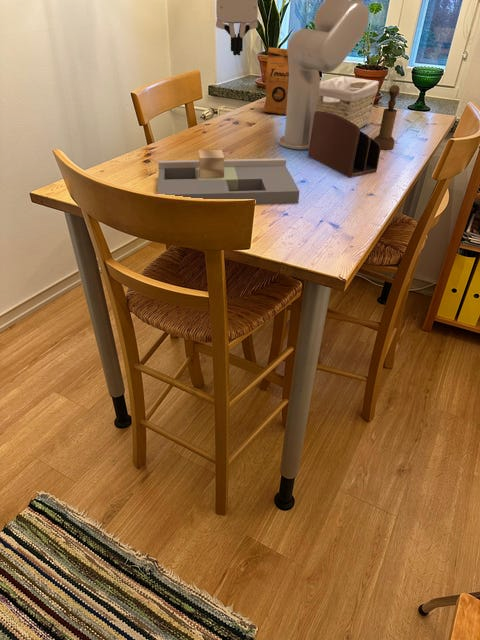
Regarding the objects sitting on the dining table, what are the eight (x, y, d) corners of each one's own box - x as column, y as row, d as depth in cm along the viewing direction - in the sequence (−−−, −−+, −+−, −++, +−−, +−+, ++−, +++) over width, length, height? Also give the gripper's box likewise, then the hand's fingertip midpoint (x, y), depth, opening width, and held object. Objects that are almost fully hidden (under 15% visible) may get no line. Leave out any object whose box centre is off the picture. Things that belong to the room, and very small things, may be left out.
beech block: (222, 168, 122) (221, 149, 119) (224, 177, 118) (224, 157, 115) (199, 169, 122) (198, 150, 119) (200, 177, 117) (199, 158, 114)
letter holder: (349, 178, 127) (358, 125, 119) (307, 156, 141) (312, 107, 132) (376, 172, 131) (387, 120, 123) (333, 152, 145) (340, 103, 136)
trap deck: (283, 174, 128) (284, 158, 125) (298, 202, 113) (300, 185, 111) (159, 177, 125) (158, 160, 122) (158, 207, 110) (156, 188, 107)
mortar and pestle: (395, 145, 151) (408, 84, 140) (391, 151, 146) (404, 88, 135) (374, 142, 153) (386, 82, 142) (370, 147, 148) (382, 86, 137)
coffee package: (292, 117, 175) (297, 51, 162) (260, 114, 178) (263, 48, 165) (298, 111, 183) (303, 47, 169) (267, 108, 186) (271, 45, 172)
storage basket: (333, 117, 177) (339, 74, 168) (373, 124, 170) (381, 80, 161) (303, 131, 162) (308, 85, 153) (346, 140, 155) (354, 92, 146)
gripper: (266, -33, 114) (262, 52, 125) (205, -34, 113) (207, 52, 124) (271, -32, 108) (266, 57, 120) (207, -34, 107) (209, 56, 118)
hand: (236, 54), depth 122 cm, fingers closed
